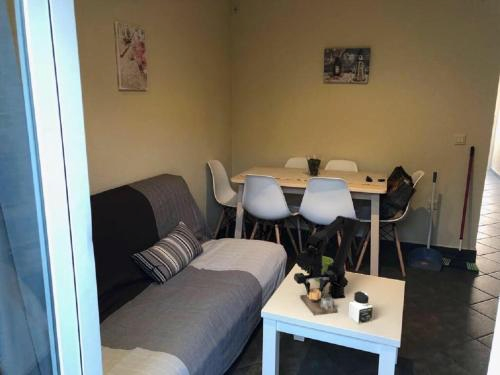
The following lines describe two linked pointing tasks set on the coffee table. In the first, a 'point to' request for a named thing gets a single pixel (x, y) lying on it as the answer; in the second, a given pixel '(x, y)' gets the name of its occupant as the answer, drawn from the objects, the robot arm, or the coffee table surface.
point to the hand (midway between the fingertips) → (314, 294)
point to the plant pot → (325, 264)
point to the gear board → (319, 304)
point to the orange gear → (314, 294)
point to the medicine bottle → (360, 308)
